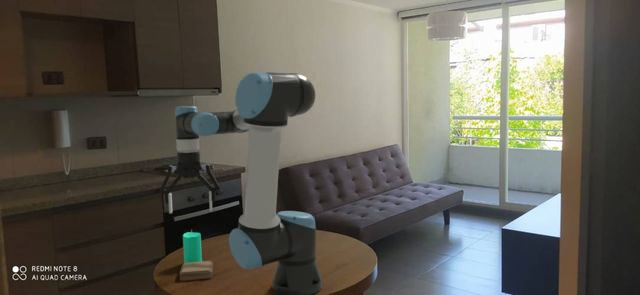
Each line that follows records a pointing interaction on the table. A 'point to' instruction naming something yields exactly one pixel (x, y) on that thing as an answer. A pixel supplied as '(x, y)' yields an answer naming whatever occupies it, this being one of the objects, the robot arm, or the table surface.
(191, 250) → the candle
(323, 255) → the table surface
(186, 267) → the stand
